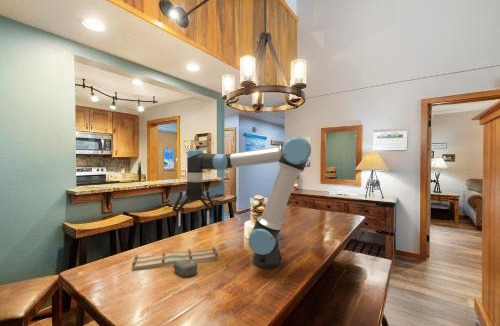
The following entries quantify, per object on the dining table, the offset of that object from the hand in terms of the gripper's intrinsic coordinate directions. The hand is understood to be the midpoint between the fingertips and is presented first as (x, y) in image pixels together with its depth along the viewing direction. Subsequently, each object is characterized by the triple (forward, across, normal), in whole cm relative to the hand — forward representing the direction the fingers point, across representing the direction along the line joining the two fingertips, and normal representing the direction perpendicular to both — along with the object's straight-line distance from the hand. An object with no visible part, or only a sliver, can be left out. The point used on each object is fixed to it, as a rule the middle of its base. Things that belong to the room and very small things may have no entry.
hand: (193, 224), depth 115 cm
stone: (+21, +4, +7) cm, 22 cm away
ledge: (+20, +8, -8) cm, 23 cm away
